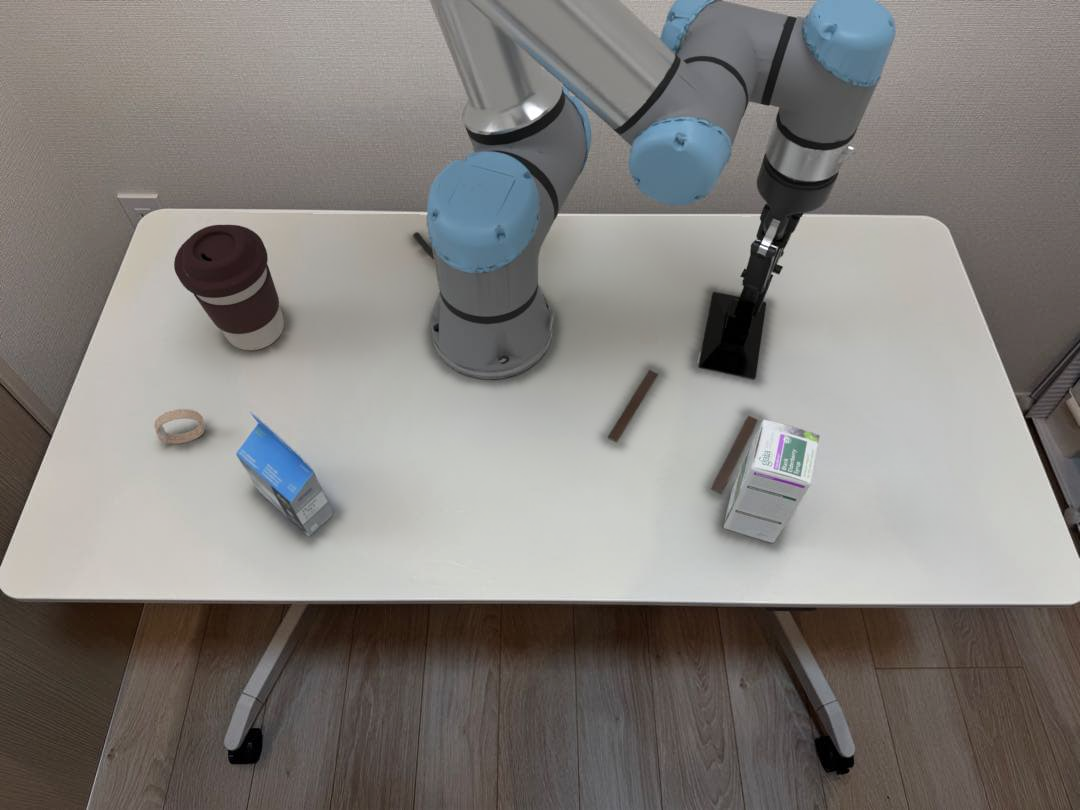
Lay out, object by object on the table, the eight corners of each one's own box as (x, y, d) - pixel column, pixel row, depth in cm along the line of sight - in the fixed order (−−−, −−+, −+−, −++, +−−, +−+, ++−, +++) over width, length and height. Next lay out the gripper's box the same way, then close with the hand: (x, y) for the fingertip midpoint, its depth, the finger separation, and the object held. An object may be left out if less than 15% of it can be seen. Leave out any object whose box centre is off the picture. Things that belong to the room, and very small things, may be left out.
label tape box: (257, 490, 85) (217, 435, 75) (285, 465, 87) (250, 408, 76) (309, 538, 82) (276, 488, 72) (337, 511, 84) (309, 459, 73)
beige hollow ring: (167, 434, 89) (148, 412, 85) (208, 421, 90) (192, 399, 86) (169, 453, 88) (151, 431, 83) (212, 440, 89) (195, 418, 84)
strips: (607, 437, 89) (607, 436, 89) (649, 370, 94) (649, 369, 94) (720, 493, 85) (721, 493, 85) (757, 420, 90) (758, 419, 90)
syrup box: (774, 545, 82) (816, 485, 70) (720, 528, 83) (751, 466, 71) (783, 499, 85) (824, 433, 73) (730, 483, 86) (762, 416, 74)
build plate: (754, 380, 93) (764, 359, 89) (695, 367, 94) (702, 345, 90) (766, 303, 100) (775, 280, 96) (710, 292, 101) (717, 268, 97)
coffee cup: (289, 291, 101) (253, 205, 88) (301, 349, 96) (265, 267, 83) (212, 309, 99) (164, 224, 86) (220, 369, 94) (171, 289, 81)
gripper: (817, 214, 73) (757, 357, 93) (858, 135, 79) (793, 286, 99) (743, 186, 75) (700, 333, 95) (789, 111, 81) (739, 264, 101)
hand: (747, 309), depth 97 cm, fingers closed
